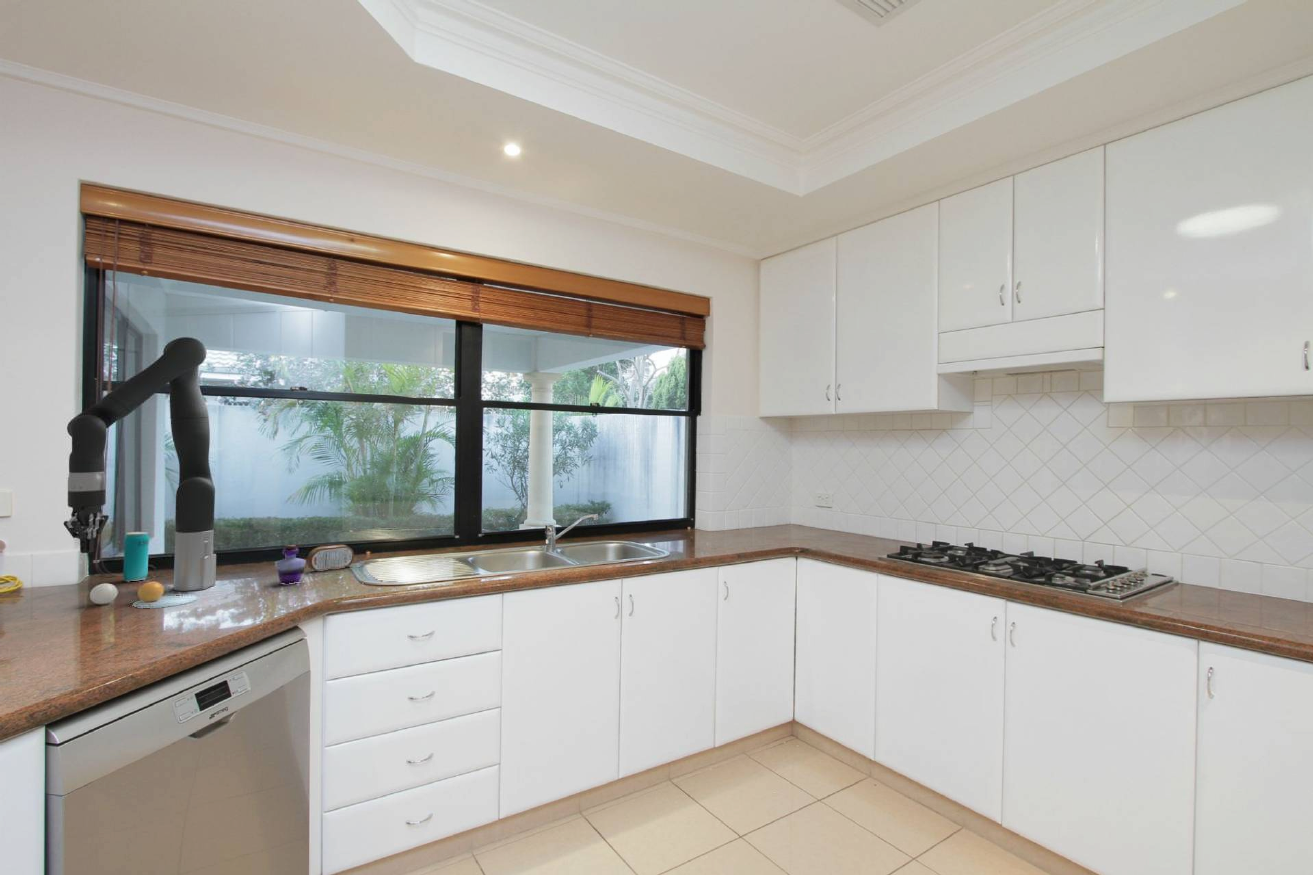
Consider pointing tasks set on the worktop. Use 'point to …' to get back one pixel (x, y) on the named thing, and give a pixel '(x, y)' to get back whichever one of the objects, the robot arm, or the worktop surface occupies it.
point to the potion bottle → (290, 565)
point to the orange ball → (150, 591)
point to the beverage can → (136, 556)
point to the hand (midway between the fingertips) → (87, 552)
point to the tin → (330, 557)
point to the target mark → (166, 601)
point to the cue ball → (103, 593)
